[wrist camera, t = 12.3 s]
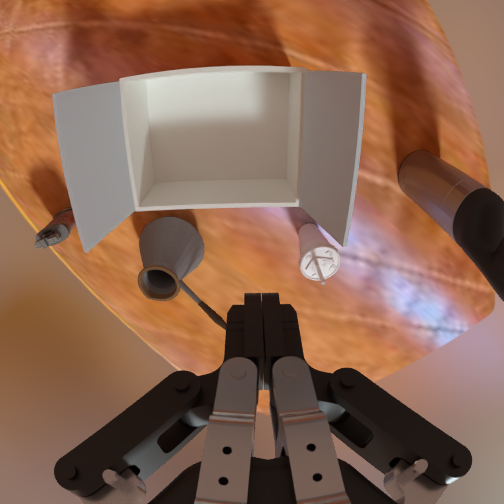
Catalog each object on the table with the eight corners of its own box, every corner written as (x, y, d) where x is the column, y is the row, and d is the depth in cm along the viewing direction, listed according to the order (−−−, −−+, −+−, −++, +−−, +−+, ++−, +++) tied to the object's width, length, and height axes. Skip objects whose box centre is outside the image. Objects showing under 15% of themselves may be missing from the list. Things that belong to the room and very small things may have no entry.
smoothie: (285, 223, 52) (299, 272, 40) (321, 211, 51) (344, 256, 39) (296, 252, 55) (311, 304, 43) (329, 241, 54) (352, 290, 42)
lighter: (59, 229, 50) (34, 257, 42) (52, 214, 49) (25, 241, 40) (89, 217, 50) (65, 246, 41) (81, 202, 48) (55, 228, 39)
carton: (292, 69, 38) (306, 67, 30) (289, 181, 48) (299, 206, 39) (143, 77, 37) (119, 78, 29) (153, 185, 47) (135, 211, 39)
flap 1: (55, 92, 20) (52, 94, 20) (87, 252, 29) (84, 252, 29) (119, 81, 29) (116, 81, 29) (135, 210, 38) (132, 210, 38)
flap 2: (304, 70, 29) (308, 71, 29) (298, 205, 39) (302, 205, 39) (361, 73, 21) (366, 73, 21) (342, 246, 30) (346, 246, 30)
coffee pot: (132, 243, 53) (105, 296, 40) (164, 197, 48) (139, 244, 36) (223, 300, 61) (221, 359, 48) (261, 264, 56) (267, 323, 44)
